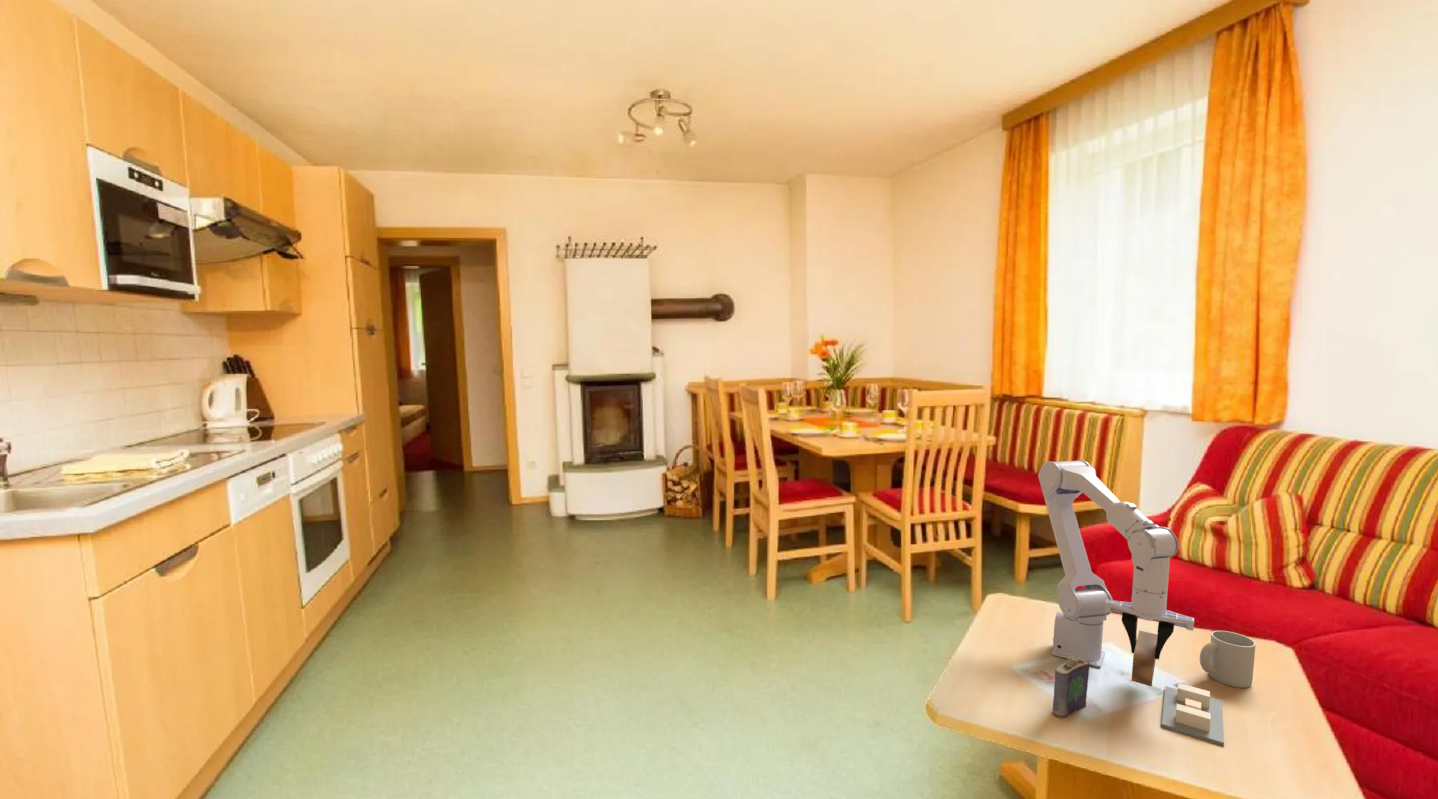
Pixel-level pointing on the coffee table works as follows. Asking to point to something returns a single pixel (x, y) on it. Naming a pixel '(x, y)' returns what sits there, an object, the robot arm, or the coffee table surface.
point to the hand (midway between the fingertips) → (1145, 654)
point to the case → (1144, 658)
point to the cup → (1229, 658)
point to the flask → (1070, 686)
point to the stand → (1193, 713)
